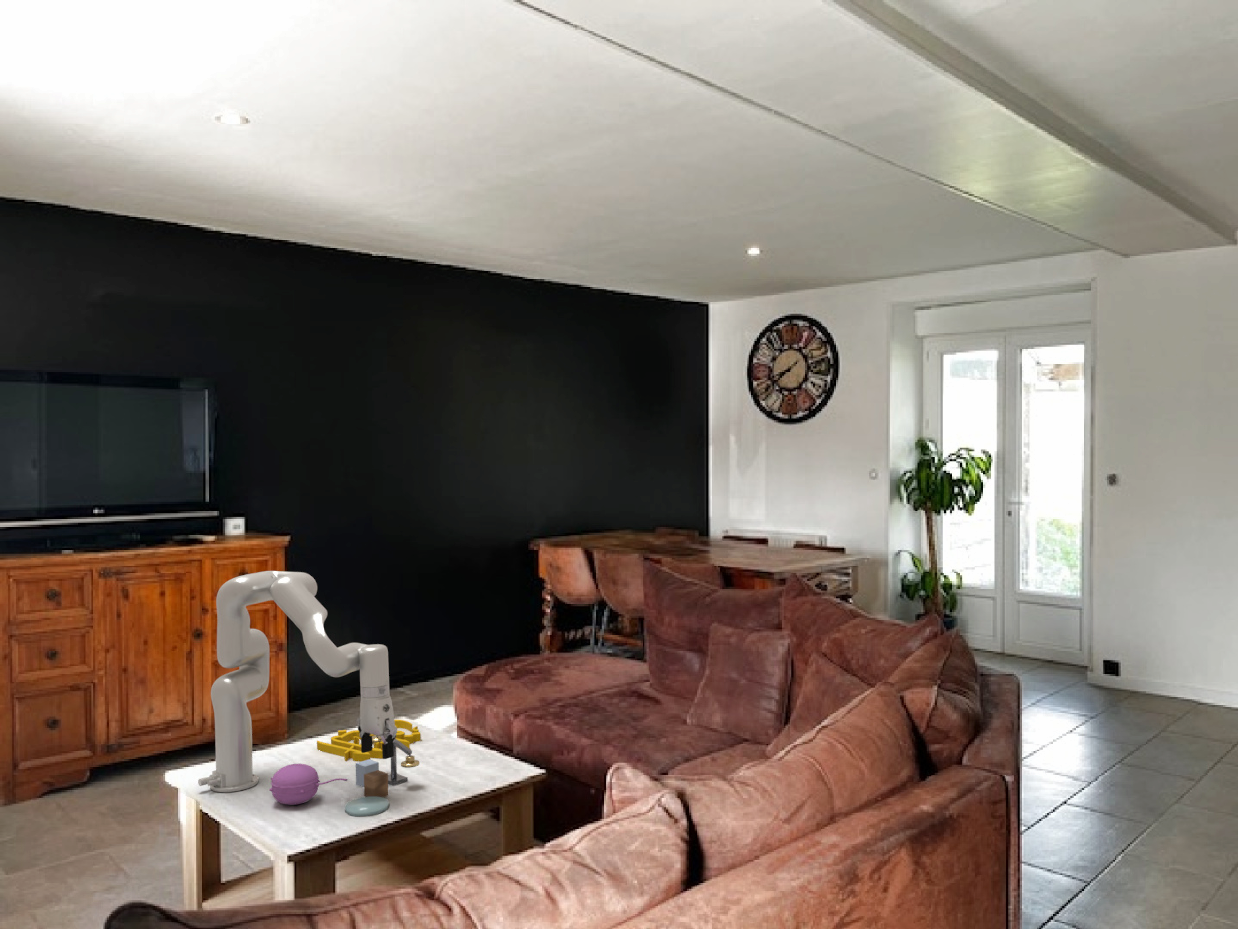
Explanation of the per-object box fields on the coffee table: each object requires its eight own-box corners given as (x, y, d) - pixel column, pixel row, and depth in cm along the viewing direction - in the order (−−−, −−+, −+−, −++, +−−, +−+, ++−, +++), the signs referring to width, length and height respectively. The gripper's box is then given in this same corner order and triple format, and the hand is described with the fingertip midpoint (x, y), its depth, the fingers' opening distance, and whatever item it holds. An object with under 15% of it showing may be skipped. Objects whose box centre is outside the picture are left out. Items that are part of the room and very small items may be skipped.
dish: (360, 820, 235) (360, 815, 235) (336, 809, 242) (336, 805, 242) (397, 807, 243) (397, 802, 243) (372, 797, 251) (372, 793, 251)
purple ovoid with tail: (287, 793, 255) (286, 757, 255) (349, 798, 251) (349, 760, 251) (261, 809, 243) (261, 771, 243) (326, 814, 239) (326, 775, 239)
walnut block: (374, 800, 249) (373, 778, 249) (364, 796, 252) (363, 774, 252) (388, 795, 252) (387, 773, 252) (378, 792, 255) (378, 770, 255)
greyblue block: (365, 788, 258) (364, 766, 258) (355, 784, 261) (355, 763, 261) (379, 783, 262) (378, 762, 262) (369, 780, 265) (369, 759, 265)
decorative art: (387, 716, 323) (446, 730, 304) (387, 724, 323) (447, 739, 304) (301, 740, 296) (361, 757, 277) (302, 749, 296) (361, 767, 277)
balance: (408, 791, 255) (407, 740, 255) (365, 776, 268) (364, 727, 268) (423, 786, 259) (422, 736, 259) (380, 771, 272) (379, 723, 272)
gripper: (406, 692, 249) (408, 756, 249) (368, 684, 260) (370, 746, 260) (382, 698, 243) (384, 764, 243) (344, 690, 255) (347, 752, 255)
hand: (377, 754), depth 252 cm, fingers open, 9 cm apart
